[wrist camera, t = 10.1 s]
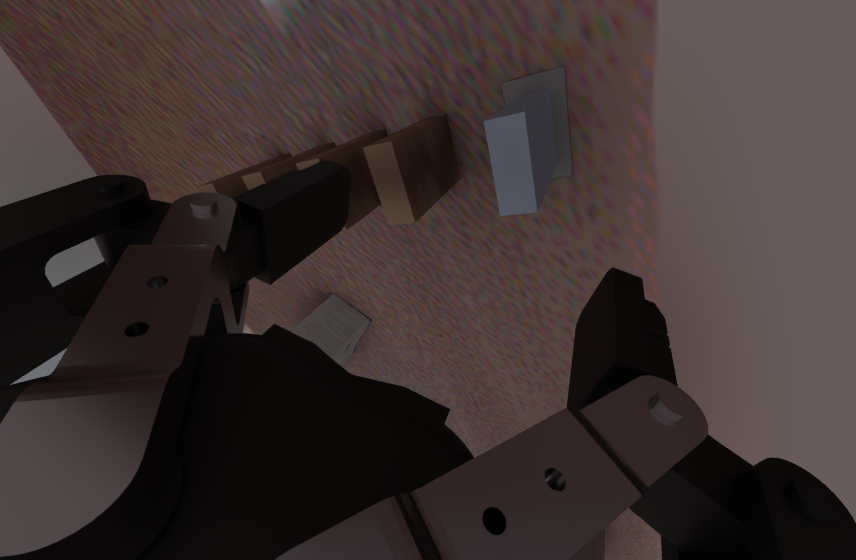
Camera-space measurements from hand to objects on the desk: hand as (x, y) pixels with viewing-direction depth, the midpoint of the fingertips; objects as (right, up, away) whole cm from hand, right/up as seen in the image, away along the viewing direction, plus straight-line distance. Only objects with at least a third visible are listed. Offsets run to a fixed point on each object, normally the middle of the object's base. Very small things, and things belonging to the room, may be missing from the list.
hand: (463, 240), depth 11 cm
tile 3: (-5, +9, +21) cm, 23 cm away
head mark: (+7, +9, +15) cm, 19 cm away
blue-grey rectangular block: (+7, +9, +15) cm, 19 cm away
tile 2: (0, +9, +18) cm, 20 cm away
